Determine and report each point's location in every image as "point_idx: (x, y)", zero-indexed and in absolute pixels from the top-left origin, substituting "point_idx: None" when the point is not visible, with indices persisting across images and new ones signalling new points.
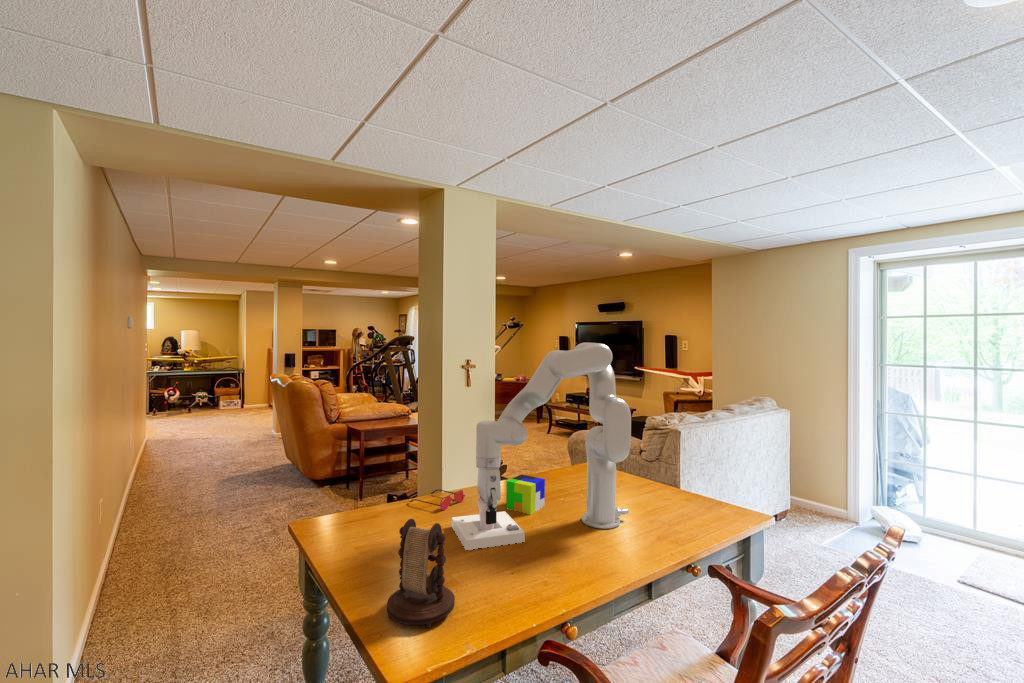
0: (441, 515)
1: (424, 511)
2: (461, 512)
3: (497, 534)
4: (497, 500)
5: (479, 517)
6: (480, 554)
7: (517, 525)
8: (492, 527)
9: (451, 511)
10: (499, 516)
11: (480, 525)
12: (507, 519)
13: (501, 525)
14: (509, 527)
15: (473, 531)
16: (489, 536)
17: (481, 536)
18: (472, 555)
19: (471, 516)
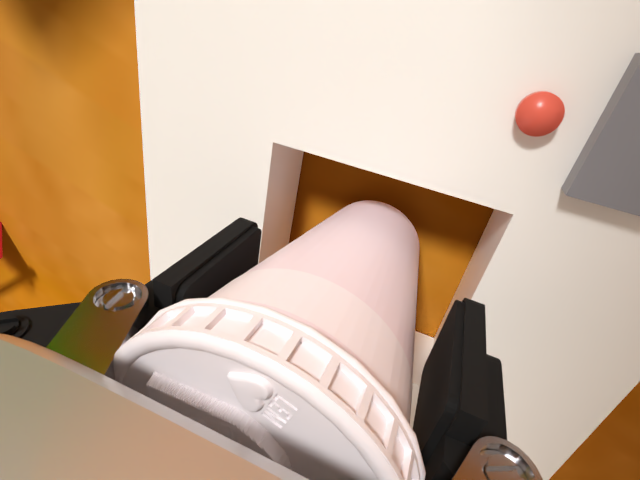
0: (57, 270)
1: (13, 297)
2: (27, 167)
3: (619, 350)
4: (324, 399)
5: (202, 231)
6: (622, 449)
7: (604, 3)
8: (416, 257)
9: (14, 204)
10: (239, 63)
11: (276, 243)
12: (349, 23)
13: (454, 185)
14: (630, 189)
15: (413, 415)
16: (592, 414)
17: (535, 441)
18: (590, 476)
19: (170, 263)
